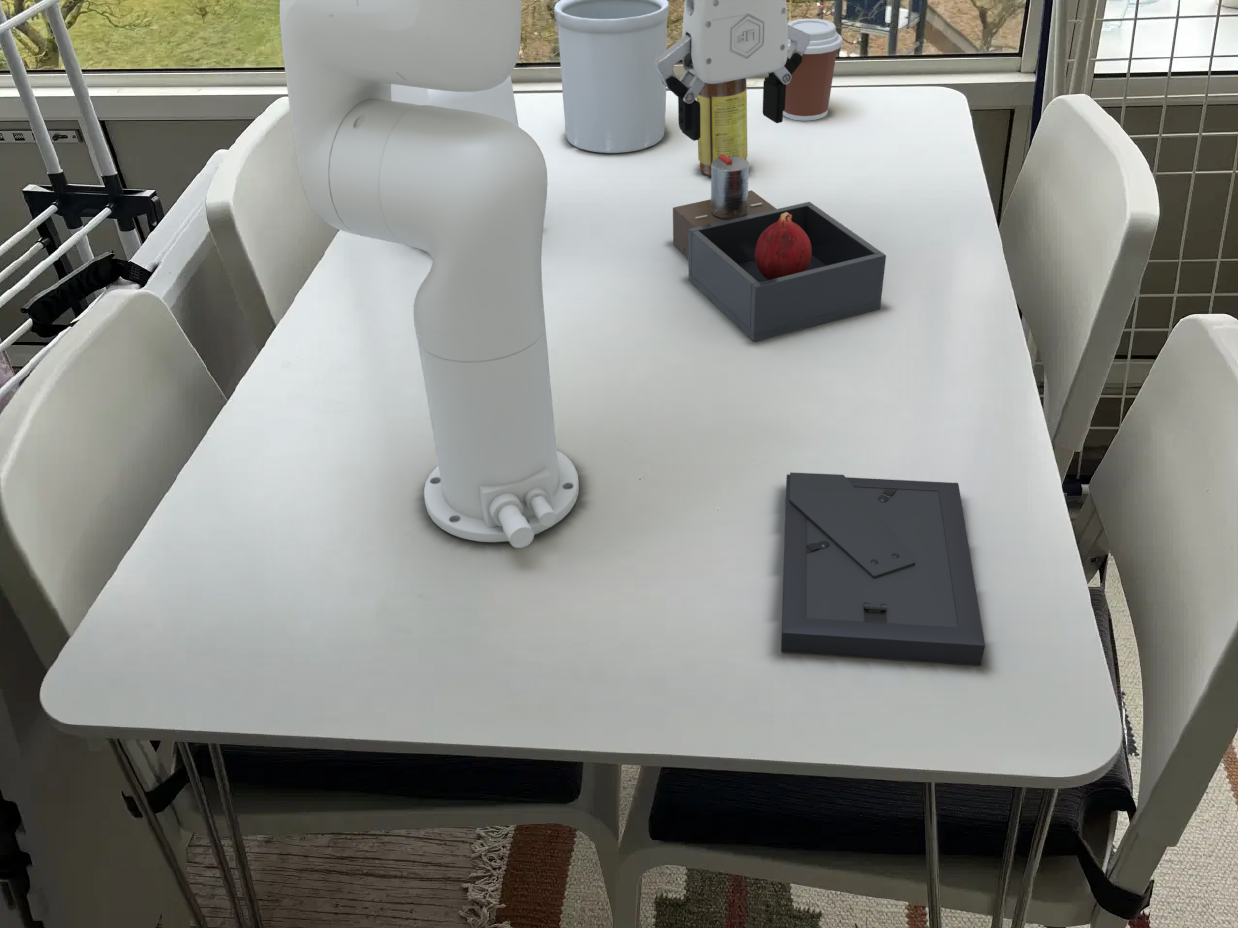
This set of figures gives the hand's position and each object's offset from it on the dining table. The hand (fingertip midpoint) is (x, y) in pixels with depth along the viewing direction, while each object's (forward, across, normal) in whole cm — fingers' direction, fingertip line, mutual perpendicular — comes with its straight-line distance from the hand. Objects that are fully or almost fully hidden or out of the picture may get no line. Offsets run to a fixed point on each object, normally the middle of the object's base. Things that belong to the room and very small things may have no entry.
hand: (732, 127), depth 120 cm
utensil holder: (+14, +2, +38) cm, 41 cm away
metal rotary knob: (+9, 0, 0) cm, 9 cm away
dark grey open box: (+14, 0, -12) cm, 18 cm away
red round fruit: (+13, 0, -12) cm, 18 cm away
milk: (+14, -26, +18) cm, 35 cm away
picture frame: (+14, -16, -53) cm, 57 cm away
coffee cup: (+15, +29, +33) cm, 47 cm away
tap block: (+14, 0, 0) cm, 14 cm away
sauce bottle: (+14, +9, +20) cm, 27 cm away
